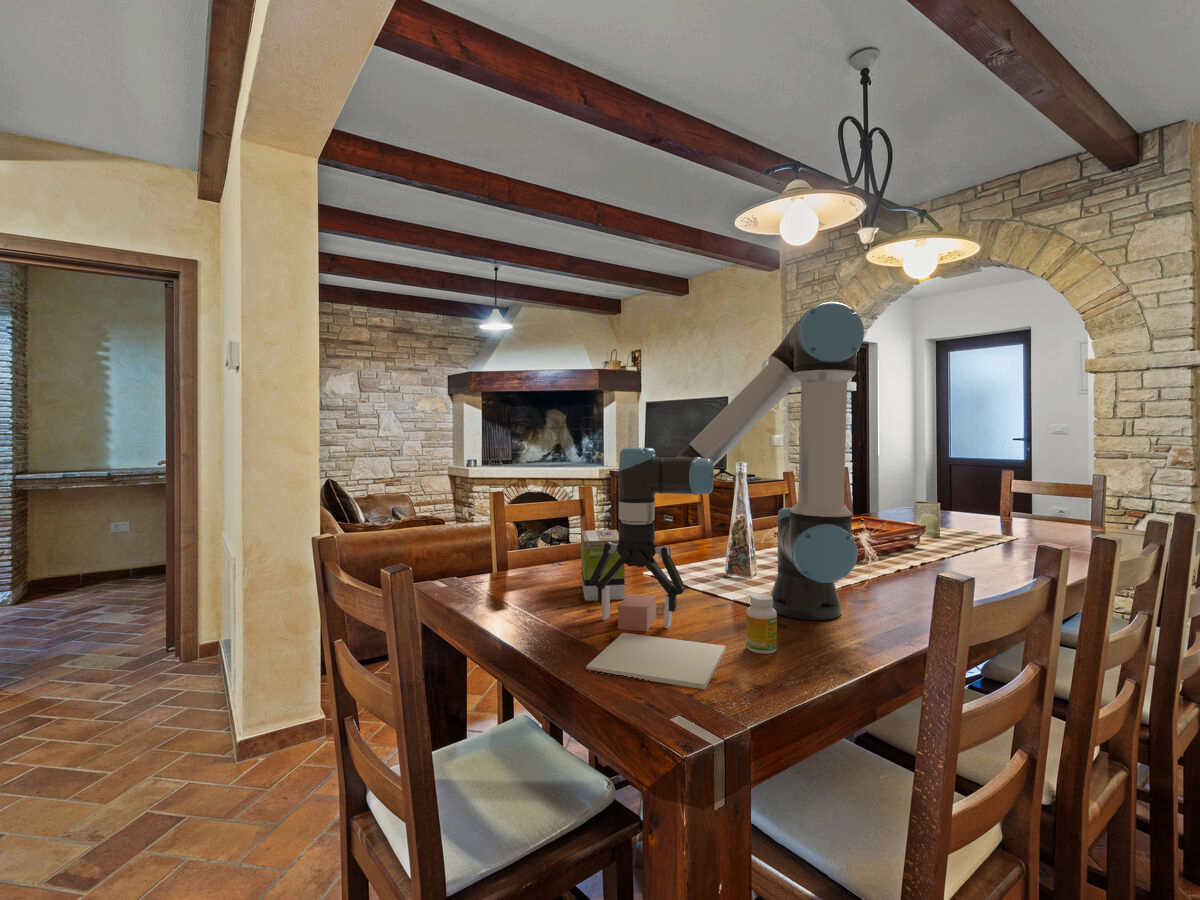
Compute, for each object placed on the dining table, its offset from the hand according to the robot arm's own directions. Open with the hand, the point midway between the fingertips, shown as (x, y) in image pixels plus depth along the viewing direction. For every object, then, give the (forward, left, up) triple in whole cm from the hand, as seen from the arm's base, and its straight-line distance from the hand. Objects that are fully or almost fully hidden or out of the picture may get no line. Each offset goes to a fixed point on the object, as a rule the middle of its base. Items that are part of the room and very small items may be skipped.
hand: (636, 622), depth 124 cm
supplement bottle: (-26, +6, 0) cm, 27 cm away
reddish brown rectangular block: (0, 0, 0) cm, 0 cm away
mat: (-10, +18, 0) cm, 21 cm away
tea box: (+16, -20, 0) cm, 25 cm away
